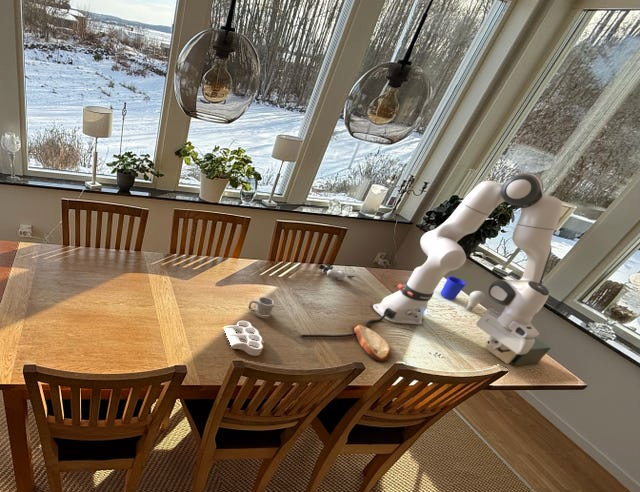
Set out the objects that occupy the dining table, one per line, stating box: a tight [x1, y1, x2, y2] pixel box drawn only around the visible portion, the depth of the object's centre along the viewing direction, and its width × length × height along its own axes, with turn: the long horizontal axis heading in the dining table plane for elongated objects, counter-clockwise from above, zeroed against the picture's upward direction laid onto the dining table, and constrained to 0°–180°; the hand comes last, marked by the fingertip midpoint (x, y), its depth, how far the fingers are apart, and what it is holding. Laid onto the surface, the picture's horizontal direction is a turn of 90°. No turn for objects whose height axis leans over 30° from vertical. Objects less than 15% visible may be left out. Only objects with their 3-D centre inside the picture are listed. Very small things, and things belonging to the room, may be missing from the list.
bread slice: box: [354, 324, 391, 362], centre depth 163 cm, size 18×18×4 cm
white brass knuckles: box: [222, 320, 266, 357], centre depth 155 cm, size 3×18×15 cm
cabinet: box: [509, 337, 551, 366], centre depth 169 cm, size 14×12×9 cm
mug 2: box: [440, 275, 467, 300], centre depth 209 cm, size 8×12×10 cm
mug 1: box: [247, 296, 275, 319], centre depth 172 cm, size 10×7×7 cm
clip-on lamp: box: [318, 263, 356, 281], centre depth 212 cm, size 12×6×18 cm
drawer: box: [484, 339, 520, 365], centre depth 167 cm, size 17×10×7 cm, turn 104°
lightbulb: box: [465, 290, 486, 311], centre depth 198 cm, size 6×6×11 cm
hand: (492, 348), depth 164 cm, fingers closed, pressing on drawer
